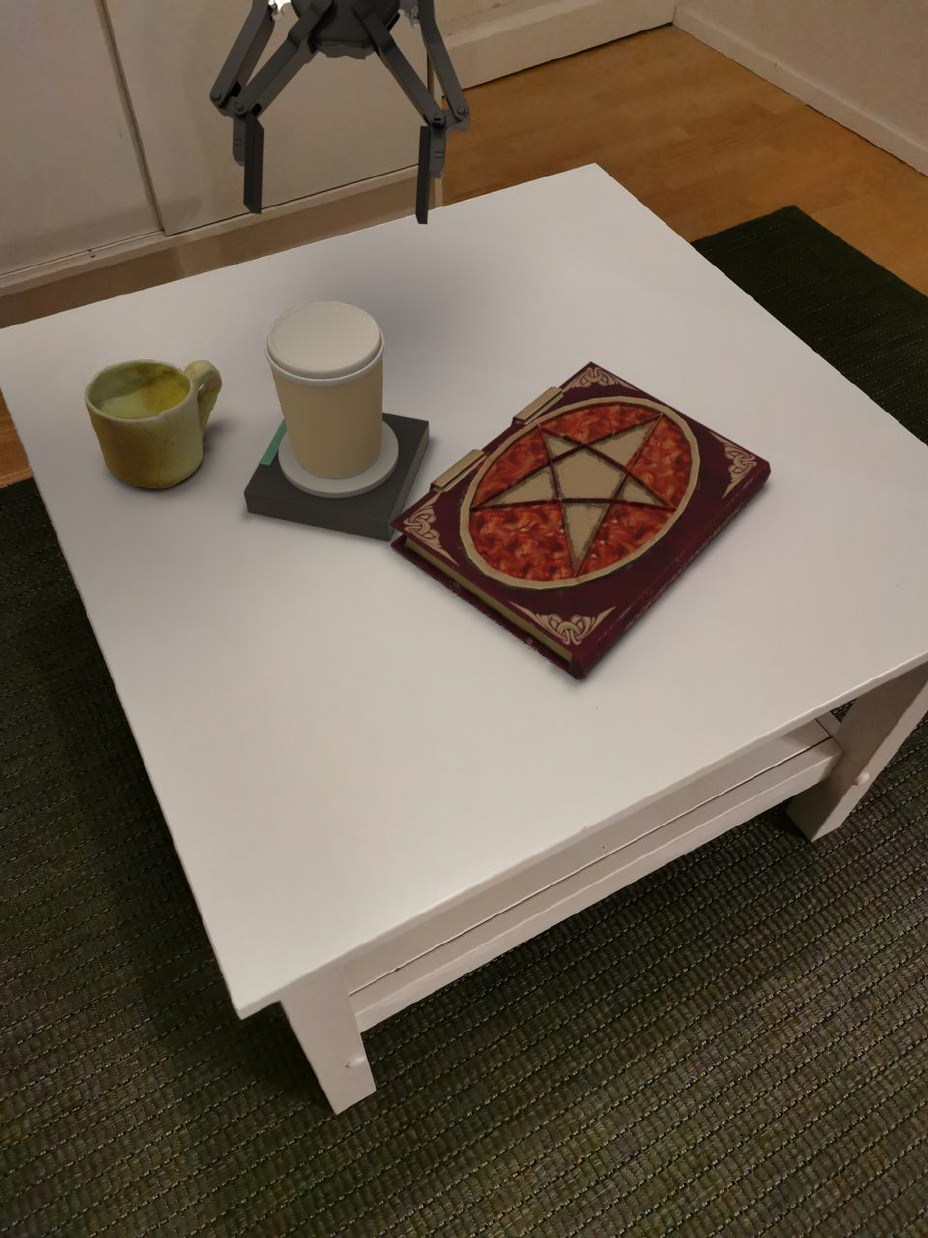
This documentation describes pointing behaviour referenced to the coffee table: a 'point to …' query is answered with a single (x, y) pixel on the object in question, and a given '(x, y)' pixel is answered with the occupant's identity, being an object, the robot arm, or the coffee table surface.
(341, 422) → the coffee cup
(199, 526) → the coffee table surface
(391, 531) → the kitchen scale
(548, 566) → the book
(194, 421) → the mug
